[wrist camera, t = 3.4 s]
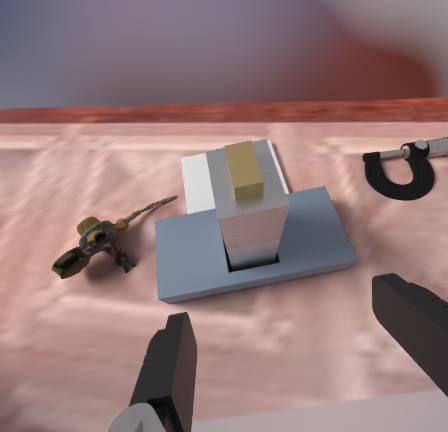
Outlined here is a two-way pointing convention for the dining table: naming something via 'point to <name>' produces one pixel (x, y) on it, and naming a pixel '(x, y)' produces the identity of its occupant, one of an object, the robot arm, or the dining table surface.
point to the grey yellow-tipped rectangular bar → (248, 202)
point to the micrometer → (417, 162)
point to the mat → (206, 182)
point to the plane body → (231, 281)
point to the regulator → (97, 243)
